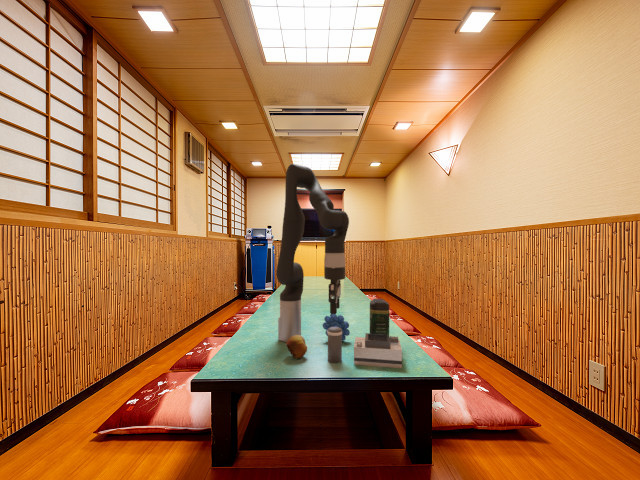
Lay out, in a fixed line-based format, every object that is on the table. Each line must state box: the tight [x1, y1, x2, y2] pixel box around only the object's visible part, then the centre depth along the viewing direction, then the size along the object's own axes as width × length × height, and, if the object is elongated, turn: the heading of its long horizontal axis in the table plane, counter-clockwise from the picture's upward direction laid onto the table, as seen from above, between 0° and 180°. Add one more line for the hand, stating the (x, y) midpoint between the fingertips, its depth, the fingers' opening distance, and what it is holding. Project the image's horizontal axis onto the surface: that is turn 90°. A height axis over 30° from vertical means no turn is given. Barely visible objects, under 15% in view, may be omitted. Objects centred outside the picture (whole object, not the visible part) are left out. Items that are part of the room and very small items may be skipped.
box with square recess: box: [353, 332, 403, 369], centre depth 104 cm, size 16×11×8 cm
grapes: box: [322, 313, 351, 342], centre depth 122 cm, size 12×7×12 cm, turn 84°
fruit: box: [285, 335, 308, 360], centre depth 106 cm, size 8×8×8 cm
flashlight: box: [327, 327, 343, 364], centre depth 103 cm, size 5×5×11 cm
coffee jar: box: [369, 298, 390, 336], centre depth 119 cm, size 10×8×19 cm
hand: (335, 310), depth 104 cm, fingers open, 8 cm apart
